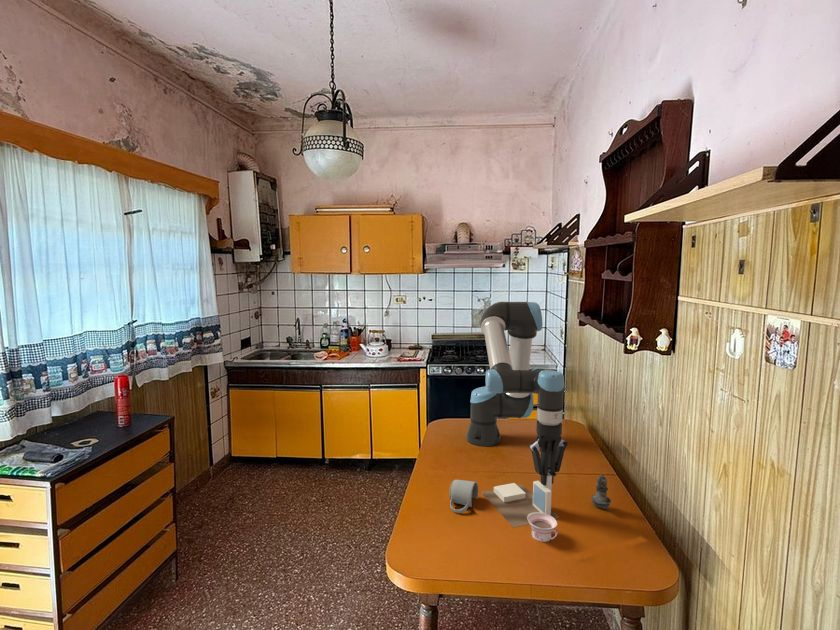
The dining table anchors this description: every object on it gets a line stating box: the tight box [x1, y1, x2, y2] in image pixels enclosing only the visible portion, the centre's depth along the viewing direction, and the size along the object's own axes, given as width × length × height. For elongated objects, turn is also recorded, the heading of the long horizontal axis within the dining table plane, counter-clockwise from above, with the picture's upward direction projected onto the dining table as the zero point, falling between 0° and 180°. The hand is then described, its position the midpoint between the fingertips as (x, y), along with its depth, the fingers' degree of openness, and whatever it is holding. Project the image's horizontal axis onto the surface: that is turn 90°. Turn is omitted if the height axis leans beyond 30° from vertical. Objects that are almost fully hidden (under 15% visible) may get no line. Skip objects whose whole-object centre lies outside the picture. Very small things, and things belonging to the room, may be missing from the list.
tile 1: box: [493, 482, 526, 502], centre depth 144 cm, size 7×2×8 cm
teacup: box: [527, 512, 559, 543], centre depth 122 cm, size 12×12×6 cm
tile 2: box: [532, 480, 552, 516], centre depth 135 cm, size 7×2×8 cm, turn 19°
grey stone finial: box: [591, 473, 612, 512], centre depth 137 cm, size 6×6×12 cm
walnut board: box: [480, 484, 560, 529], centre depth 139 cm, size 21×16×1 cm
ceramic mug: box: [448, 479, 479, 514], centre depth 140 cm, size 11×8×8 cm
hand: (546, 493), depth 135 cm, fingers closed
